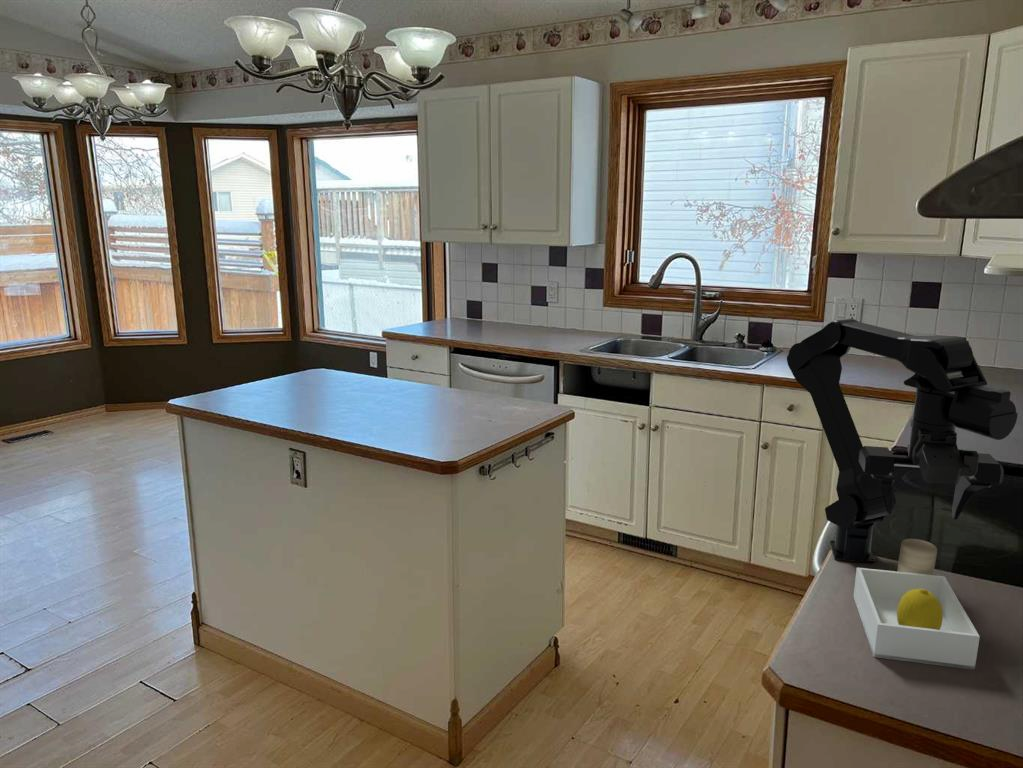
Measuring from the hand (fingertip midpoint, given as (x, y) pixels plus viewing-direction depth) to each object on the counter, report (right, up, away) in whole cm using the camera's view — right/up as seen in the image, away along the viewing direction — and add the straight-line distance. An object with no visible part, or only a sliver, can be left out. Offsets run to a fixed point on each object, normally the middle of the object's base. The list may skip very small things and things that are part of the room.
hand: (921, 515), depth 116 cm
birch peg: (0, -12, +3) cm, 12 cm away
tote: (-7, -15, -9) cm, 19 cm away
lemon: (-7, -15, -12) cm, 21 cm away
